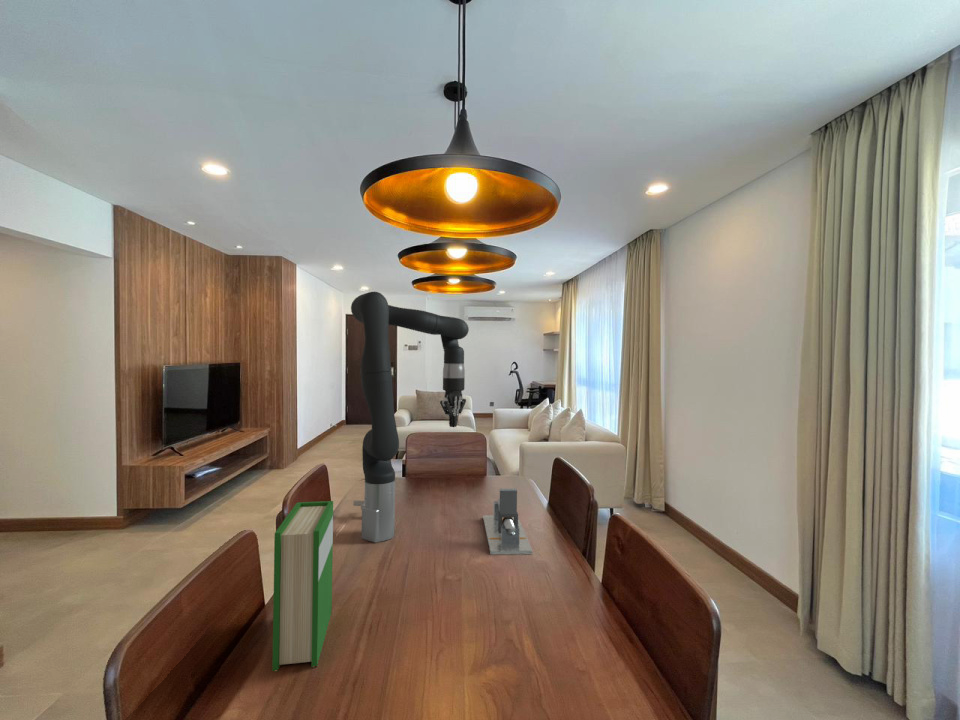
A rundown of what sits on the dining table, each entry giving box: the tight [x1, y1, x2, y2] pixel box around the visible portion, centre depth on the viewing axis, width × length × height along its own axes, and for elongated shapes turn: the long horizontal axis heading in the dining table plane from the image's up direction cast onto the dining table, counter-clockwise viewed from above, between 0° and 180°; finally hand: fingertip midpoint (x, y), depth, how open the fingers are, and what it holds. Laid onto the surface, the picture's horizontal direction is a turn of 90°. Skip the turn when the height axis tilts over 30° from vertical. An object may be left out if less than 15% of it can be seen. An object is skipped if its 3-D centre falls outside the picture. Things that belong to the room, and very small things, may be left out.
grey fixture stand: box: [482, 498, 533, 556], centre depth 143 cm, size 30×12×8 cm, turn 3°
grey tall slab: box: [498, 488, 519, 533], centre depth 137 cm, size 2×6×13 cm, turn 93°
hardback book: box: [271, 500, 334, 672], centre depth 88 cm, size 18×7×24 cm, turn 10°
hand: (453, 426), depth 156 cm, fingers closed
